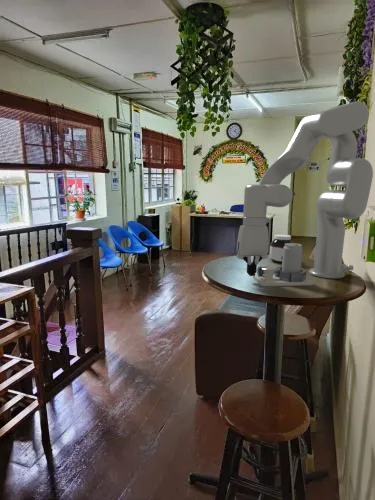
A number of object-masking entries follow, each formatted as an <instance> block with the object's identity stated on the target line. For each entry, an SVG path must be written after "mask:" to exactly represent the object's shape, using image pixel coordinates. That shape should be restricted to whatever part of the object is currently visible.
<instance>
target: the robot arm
mask: <svg viewBox="0 0 375 500" xmlns="http://www.w3.org/2000/svg"><path fill="white" fill-rule="evenodd" d="M369 111H370V110H369V108H368V106H367V105H366V104H365V103H363V102H361V101H351V102H349V103H344V104H341V105H336V106H332V107H330V108H328V109H325V110H322V111H318V112H315V113H310V114H307V115H306V116H304V117H303V118H302V119H301V120H300V122H299V124H298V125H297V127H296V129H295V131H294V133H293V135H292V136H291V138H290V141H289V142H288V144H287V146H286V147H285V149H284V151H283V153H282V154H281V155H280V156H279V157H278V158H277V159H276V160H275V161H274V162H273V163H272V164H271V165H270V166H269V167H268V168H267V169H266V171H265V172H264V173H263V175H262V177H261V179H260V180H259V183H258V184H247V185H246V186H245V187H244V191H243V192H244V193H243V194H244V195H243V211H242V213H243V214H242V215H243V216H242V225H240V226H239V229H238V233H237V235H238V236H237V241H236V253H237V254H236V258H237V259H239V260H241V261H244V262H245V263H246V273H247V275H248V276H249V277H252V276H255V275H256V273H257V268H258V265H259V263H260V262H261V261H262V260H265V259H268V258H269V255H268V254H269V252H270V243H269V242H270V240H269V239H270V238H269V229H268V226H267V224H268V223H269V224H270V223H271V219H270V218H268V217H267V209H268V208H267V207H274V208H284V207H286V206H288V205H290V204H291V202H292V200H293V199H294V198H293V197H294V196H293V195H294V194H293V191H292V190H291V188H290V187H289V186H287V185H285V184H282V182H283V181H284V179H286V177H288V176H290V175H291V174H293V173H295V172H297V171H299V170H300V169H302V168H303V167H304V166H306V165H307V163H309V160H310V158H311V156H312V155H313V153H314V151H315V149H316V147H317V145H318V143H319V141H320V140H323V139H324V140H325V139H329V141H330V147H331V148H330V154H329V159H328V165H327V171H326V182H327V183H328V184H329V185H330V186H334V187H345V188H346V189H345V190H343V189H329V190H326V191H324V192H322V193H321V194H320V195H319V196H318V198H317V201H316V210H317V231H316V238H315V240H316V241H315V242H316V243H315V251H314V259H313V260H314V263H313V267H311V268H309V270H308V273H309V274H310V275H312V276H314V277H316V278H317V277H319V278H323V279H333V280H335V279H342V278H344V277H346V273H345V271H354V265H352V264H344V263H342V262H343V261H342V260H343V253H344V243H345V235H346V224H345V221H344V219H349V220H351V219H352V220H353V219H358V218H360V217H361V216H363V214H364V212H365V211H366V208H367V205H368V203H369V198H370V194H371V193H370V191H371V188H372V183H373V177H374V169H373V166H372V164H371V162H370V161H369V160H367V159H366V158H362V157H361V158H360V157H359V158H358V157H357V151H358V141H357V140H358V139H357V137H356V135H355V134H354V131H356V130H359V129H360V128H362V127H364V125H365V124H366V123H367V122H368V119H369V115H370V113H369ZM252 256H253V258H252Z"/></svg>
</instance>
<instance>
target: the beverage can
mask: <svg viewBox="0 0 375 500" xmlns="http://www.w3.org/2000/svg"><path fill="white" fill-rule="evenodd" d="M302 260H303V245H302V244H301V243H293V242H292V243H286V244H285V246H284V247H283V260H282V264H281V266H282V271H284V272H290V273H300V272H301V268H302V263H303V262H302Z"/></svg>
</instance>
